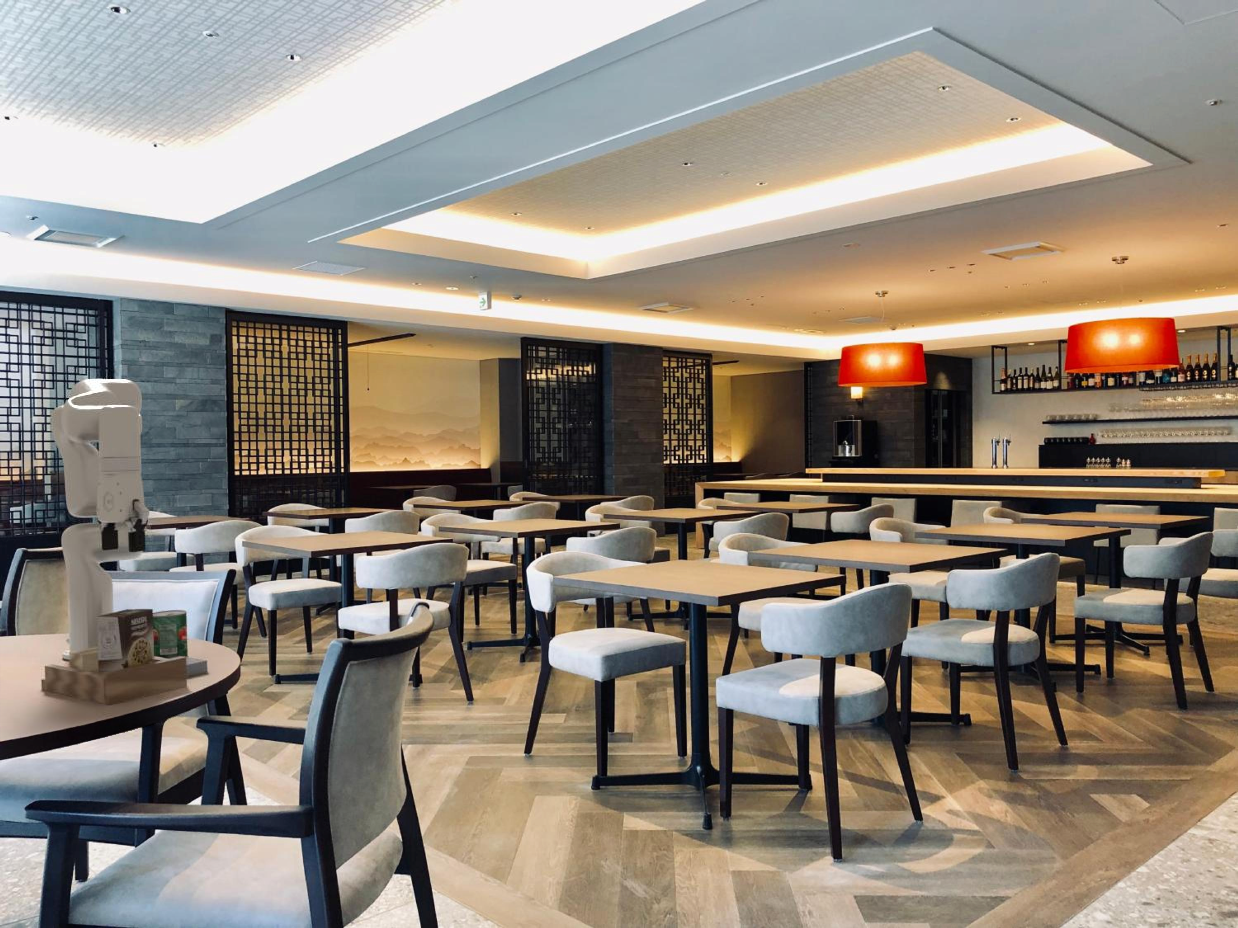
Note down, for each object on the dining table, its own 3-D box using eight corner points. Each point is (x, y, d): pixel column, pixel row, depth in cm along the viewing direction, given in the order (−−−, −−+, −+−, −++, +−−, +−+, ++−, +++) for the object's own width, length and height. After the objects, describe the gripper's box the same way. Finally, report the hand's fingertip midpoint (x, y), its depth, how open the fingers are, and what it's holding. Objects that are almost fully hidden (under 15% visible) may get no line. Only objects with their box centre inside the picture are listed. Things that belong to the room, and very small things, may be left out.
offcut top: (69, 668, 202) (69, 652, 202) (107, 661, 209) (107, 645, 209) (82, 671, 199) (82, 654, 199) (120, 663, 206) (120, 647, 206)
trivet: (146, 674, 211) (146, 662, 211) (180, 666, 218) (180, 655, 218) (173, 679, 206) (173, 667, 206) (207, 671, 213) (207, 660, 213)
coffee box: (126, 697, 193) (123, 616, 192) (97, 695, 194) (95, 615, 193) (156, 685, 201) (154, 608, 201) (129, 684, 203) (126, 607, 202)
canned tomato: (144, 660, 225) (143, 613, 225) (178, 654, 231) (177, 608, 231) (159, 665, 220) (158, 617, 220) (194, 659, 226) (192, 612, 226)
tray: (41, 688, 200) (40, 659, 200) (119, 671, 214) (118, 644, 214) (108, 705, 187) (107, 674, 186) (187, 685, 200) (186, 657, 200)
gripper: (79, 467, 198) (82, 550, 199) (126, 466, 189) (129, 554, 189) (115, 466, 205) (117, 547, 205) (162, 465, 195) (165, 550, 195)
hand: (123, 550), depth 197 cm, fingers open, 9 cm apart
